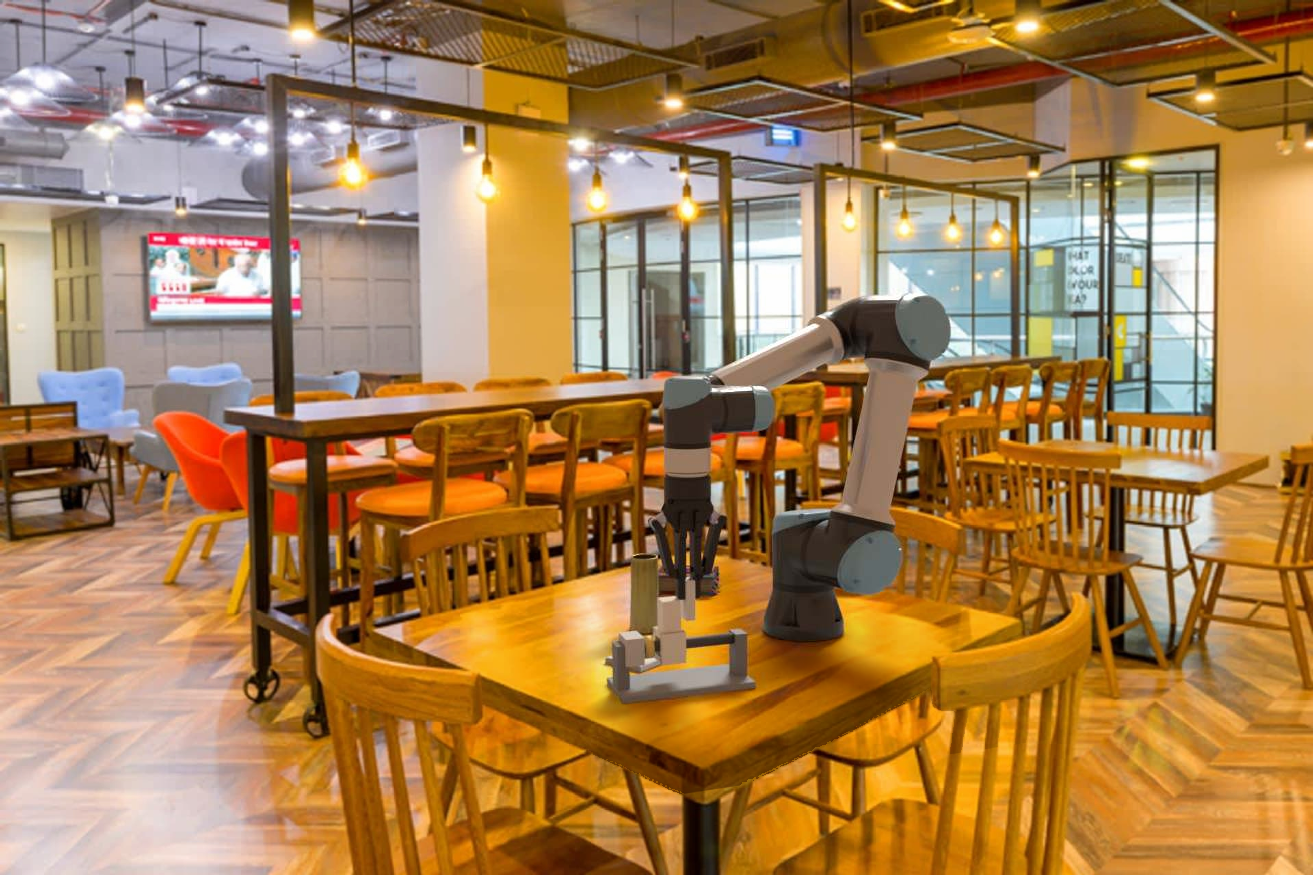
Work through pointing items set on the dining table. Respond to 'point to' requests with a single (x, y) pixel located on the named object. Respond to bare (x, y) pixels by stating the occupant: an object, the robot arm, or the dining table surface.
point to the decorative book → (707, 583)
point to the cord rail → (681, 681)
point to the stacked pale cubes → (670, 632)
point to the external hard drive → (648, 665)
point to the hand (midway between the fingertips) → (688, 618)
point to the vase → (644, 593)
